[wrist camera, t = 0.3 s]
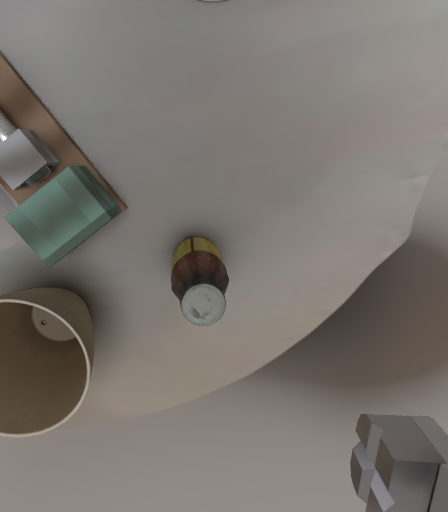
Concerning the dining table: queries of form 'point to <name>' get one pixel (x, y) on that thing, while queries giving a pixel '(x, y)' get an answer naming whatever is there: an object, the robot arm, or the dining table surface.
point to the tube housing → (56, 184)
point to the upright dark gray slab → (3, 129)
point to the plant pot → (43, 359)
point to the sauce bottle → (199, 280)
